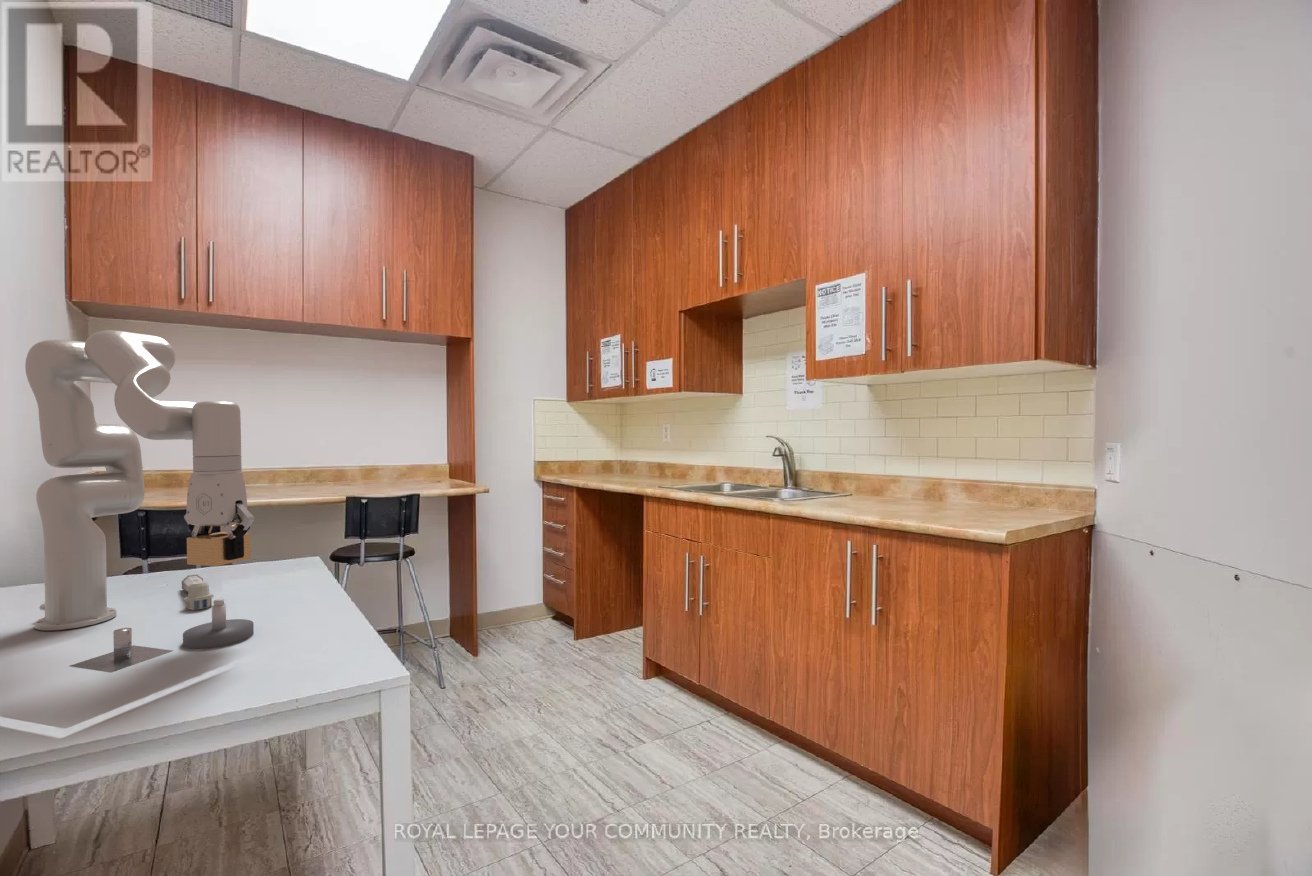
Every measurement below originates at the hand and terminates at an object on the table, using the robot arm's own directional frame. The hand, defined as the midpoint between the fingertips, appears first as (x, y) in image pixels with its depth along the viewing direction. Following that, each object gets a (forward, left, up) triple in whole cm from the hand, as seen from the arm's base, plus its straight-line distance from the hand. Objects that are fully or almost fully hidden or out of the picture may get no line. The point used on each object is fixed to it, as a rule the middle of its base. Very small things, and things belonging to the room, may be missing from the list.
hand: (219, 557), depth 115 cm
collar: (0, 0, -1) cm, 1 cm away
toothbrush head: (-35, +22, -17) cm, 45 cm away
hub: (0, 0, -17) cm, 17 cm away
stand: (-7, -12, -17) cm, 22 cm away
